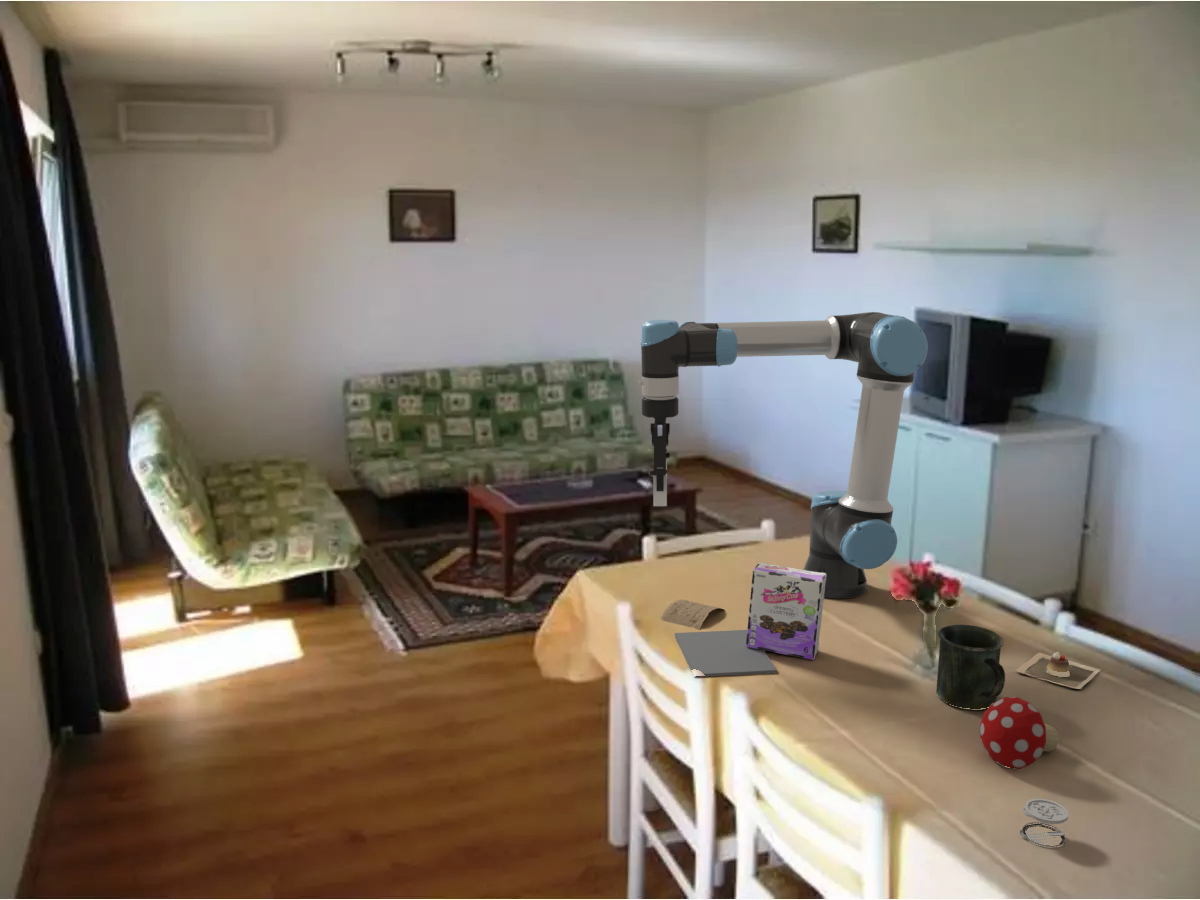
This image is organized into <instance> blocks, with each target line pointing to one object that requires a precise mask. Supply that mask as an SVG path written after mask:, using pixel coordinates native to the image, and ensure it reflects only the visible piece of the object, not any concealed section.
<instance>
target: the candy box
mask: <svg viewBox="0 0 1200 900" xmlns="http://www.w3.org/2000/svg"><path fill="white" fill-rule="evenodd" d="M826 576H827V575H826V573H819V572H812V571H806V570H803V569H799V568H793V567H788V566H781V565H776V564H769V563H767V562H766V563H765V562H762V561H759V562H758V563H757V564H756V565H755V567H754V568H753V570H752V578H751V589H750V597H749V607H748V617H747V618H748V619H747V629H746V630H747V639H746V647H750V648H755V649H761V650H764V651H765V652H766V651H767V652H772V653H776V654H782V655H786V656H791V657H797V658H801V659H808V660H815V658H816V656H817V655H818V653H819V648H820V647H819V645H820V636H821V628H822V616H823V609H824V600H825V597H824V592H825V583H826Z"/></svg>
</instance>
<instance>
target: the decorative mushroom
mask: <svg viewBox="0 0 1200 900" xmlns="http://www.w3.org/2000/svg"><path fill="white" fill-rule="evenodd" d="M979 735H980V736H979V737H980V740H981V743H982V745H983V748H984V751H985V752H986V753H987V754H988V756H989V757H990V759H992V760H993V761H994V762H995V761H996V762H998V763H999V764H998V763H997V764H998V765H1000V764H1001V765H1000V766H1002V765H1003V766H1002V767H1004V766H1007V767H1010V768H1015V769H1014V770H1021V769H1023V768H1026V767H1028V766H1031V765H1033V764H1034V763H1036V761H1037V760H1039V758H1040V757H1041V756H1042V754H1043V752H1044V751H1050V752H1052V751H1054V750H1055V749H1056V748H1057V747H1058V745H1059V742H1060V736H1059V733H1058V731H1057V729H1056V728H1055V727H1054V726H1052V725H1050V724H1048V723H1045V722H1044V719H1043V716H1042V714H1041V713H1040V712H1039V711H1038V710H1037V709H1036V707H1035V706H1034V705H1033V704H1032V703H1031V702H1028V701H1027V700H1025V699H1022V698H1021V697H1018V696H1012V697H1011V696H1004V697H1002V698H1000V699H998V700H996V702H994V703H992V704H991V705H990V707H989V708H988V709H985V711H984V713H983V714H982V718H981V721H980V723H979ZM996 762H995V763H996Z"/></svg>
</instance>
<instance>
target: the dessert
mask: <svg viewBox="0 0 1200 900" xmlns="http://www.w3.org/2000/svg"><path fill="white" fill-rule="evenodd" d="M1060 653H1061V654H1060ZM1052 656H1053V657H1051V659H1050V660H1048V664H1047V666H1046V668H1047V667H1048V668H1049V669H1051V670H1053V671H1057V672H1067V671H1069V670H1070V671H1071V666H1069V662H1068V660H1069V659H1068V658H1066V655H1065V654H1063V652H1062V651H1057V652H1054V653H1053V654H1052Z"/></svg>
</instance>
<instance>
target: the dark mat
mask: <svg viewBox="0 0 1200 900" xmlns="http://www.w3.org/2000/svg"><path fill="white" fill-rule="evenodd" d="M674 637H675V639H676V642H677V644H678V646H679V648H680V650H681V652H682V655H683V657H684V660H685V661H686V663H687V665H688V668H689V669H691V670H693V669H696V670H699V671H701V672H702V673H703V674H704V675H705V676H706V677H721V676H722V677H723V676H725V677H726V676H741V675H742V676H743V675H746V676H747V675H759V674H761V675H762V674H766V675H767V674H778V672H777V671H778V670H777V668H776V666H775V665H774V664H773V661H772V660H771V659H770V658H769V656H768V655H767V652H766V651H765V650H761V649H755V648H750V647H746V639H747V629H736V630H734V629H733V630H732V629H731V630H715V631H710V630H709V631H690V632H674ZM691 670H690V671H691Z"/></svg>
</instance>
